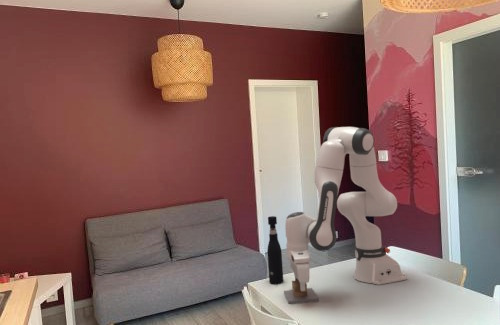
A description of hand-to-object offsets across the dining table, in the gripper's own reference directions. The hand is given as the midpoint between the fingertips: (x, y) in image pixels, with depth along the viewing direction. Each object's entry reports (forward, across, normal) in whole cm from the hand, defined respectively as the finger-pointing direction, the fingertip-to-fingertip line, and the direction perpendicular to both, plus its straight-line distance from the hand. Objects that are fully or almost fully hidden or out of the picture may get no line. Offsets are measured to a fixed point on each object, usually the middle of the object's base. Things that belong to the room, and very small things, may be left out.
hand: (300, 286), depth 154 cm
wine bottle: (+5, -20, -7) cm, 22 cm away
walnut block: (+3, 0, 0) cm, 3 cm away
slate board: (+5, 0, 0) cm, 5 cm away
